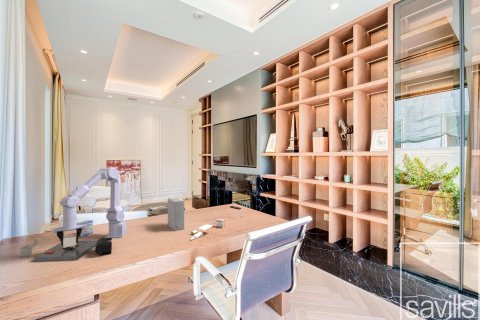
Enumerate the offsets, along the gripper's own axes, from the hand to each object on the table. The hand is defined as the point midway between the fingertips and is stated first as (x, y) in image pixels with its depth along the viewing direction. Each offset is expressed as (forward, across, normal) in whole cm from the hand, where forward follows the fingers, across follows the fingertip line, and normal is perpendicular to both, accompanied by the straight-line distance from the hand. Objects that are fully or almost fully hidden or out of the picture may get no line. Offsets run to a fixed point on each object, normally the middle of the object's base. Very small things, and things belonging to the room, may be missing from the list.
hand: (70, 244), depth 115 cm
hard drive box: (+4, -60, -8) cm, 60 cm away
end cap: (+4, -15, +11) cm, 19 cm away
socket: (+4, 0, 0) cm, 4 cm away
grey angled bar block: (+4, +17, -7) cm, 19 cm away
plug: (+2, 0, 0) cm, 2 cm away
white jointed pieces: (+5, -72, +14) cm, 73 cm away
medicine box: (+4, -6, -25) cm, 26 cm away
